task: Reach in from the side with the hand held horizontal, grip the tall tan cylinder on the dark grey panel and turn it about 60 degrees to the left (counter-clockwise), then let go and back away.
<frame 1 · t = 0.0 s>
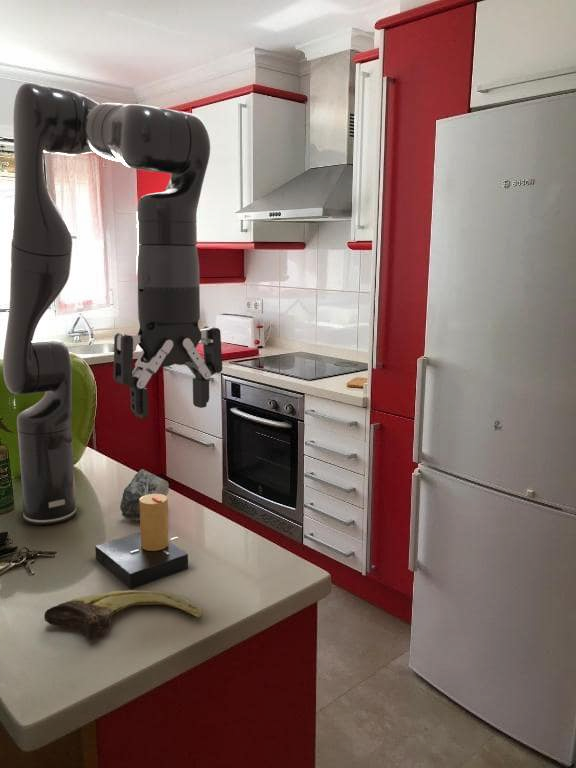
hand: (171, 411, 81), 29 cm above the counter, tool pointing down, fingers open, 8 cm apart
tan cylinder: (154, 521, 102), point 7 cm above the counter, hinge at 0.0°
stone: (148, 517, 120), on the counter
panel: (141, 564, 101), on the counter
claw: (126, 619, 87), on the counter
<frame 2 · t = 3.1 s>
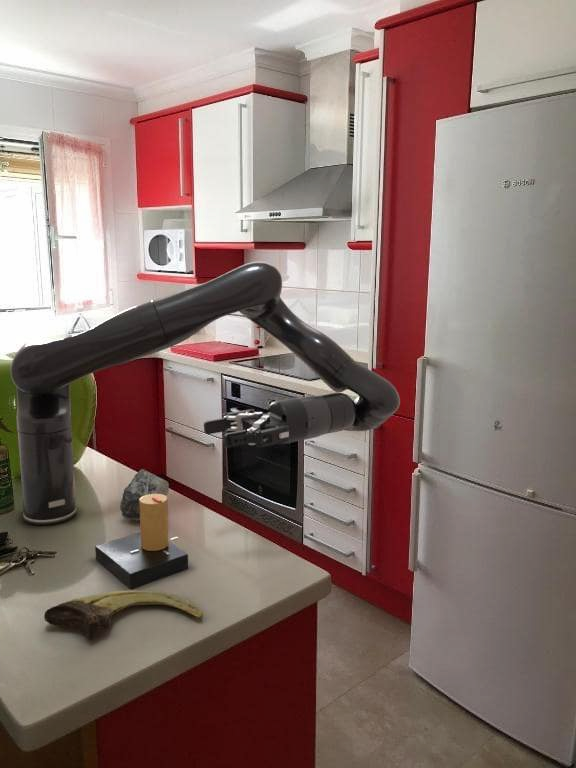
hand: (214, 434, 104), 20 cm above the counter, tool horizontal, fingers open, 8 cm apart
nothing on the counter moved.
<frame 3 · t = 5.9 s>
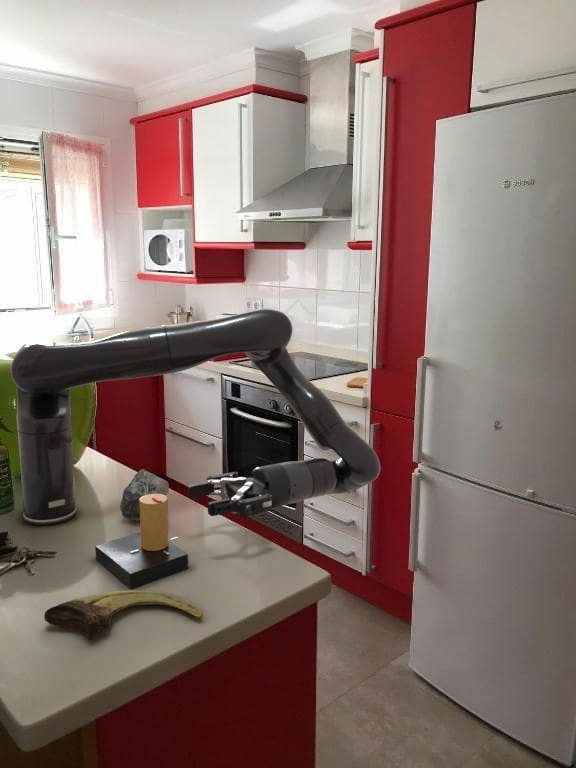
hand: (198, 500, 105), 9 cm above the counter, tool horizontal, fingers open, 8 cm apart
nothing on the counter moved.
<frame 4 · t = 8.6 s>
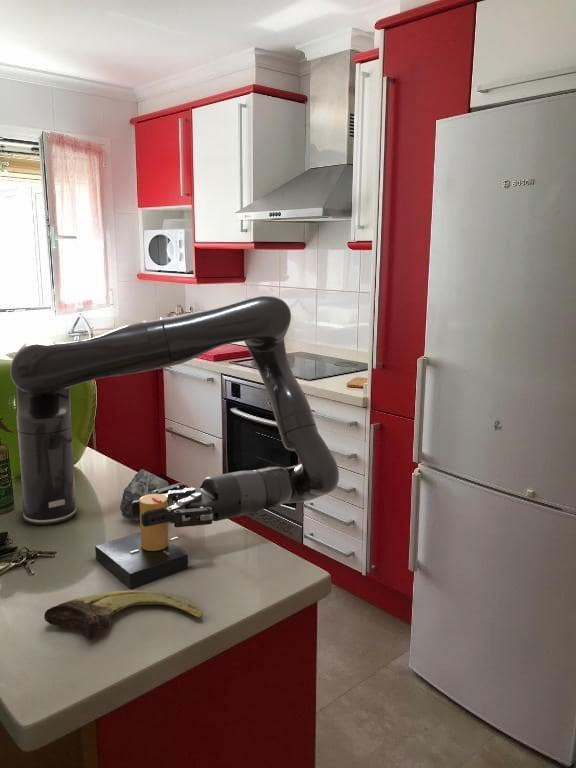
hand: (137, 514, 100), 8 cm above the counter, tool horizontal, fingers closed on tan cylinder, 4 cm apart
tan cylinder: (154, 521, 102), point 7 cm above the counter, hinge at -0.2°, touching gripper
everything else where it was.
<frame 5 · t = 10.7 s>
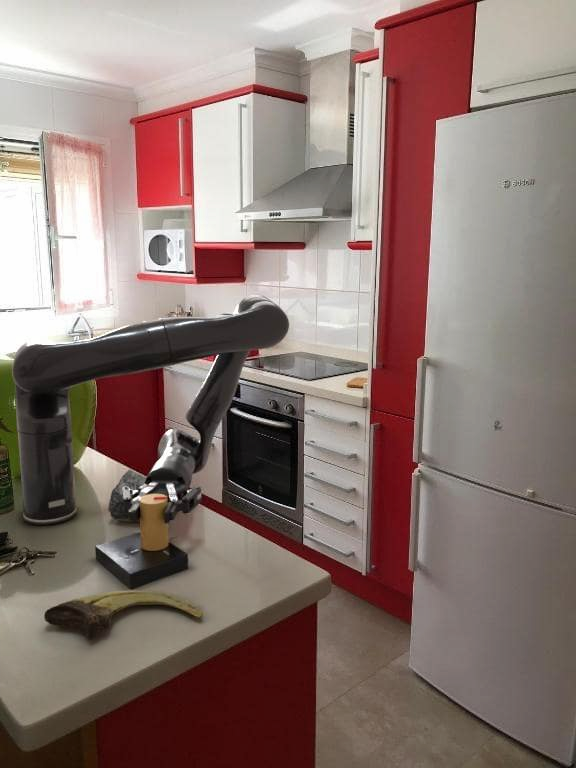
hand: (150, 517, 99), 9 cm above the counter, tool horizontal, fingers closed on tan cylinder, 4 cm apart
tan cylinder: (154, 521, 102), point 7 cm above the counter, hinge at 56.4°, touching gripper
stone: (136, 517, 119), on the counter, touching arm
everything else where it was.
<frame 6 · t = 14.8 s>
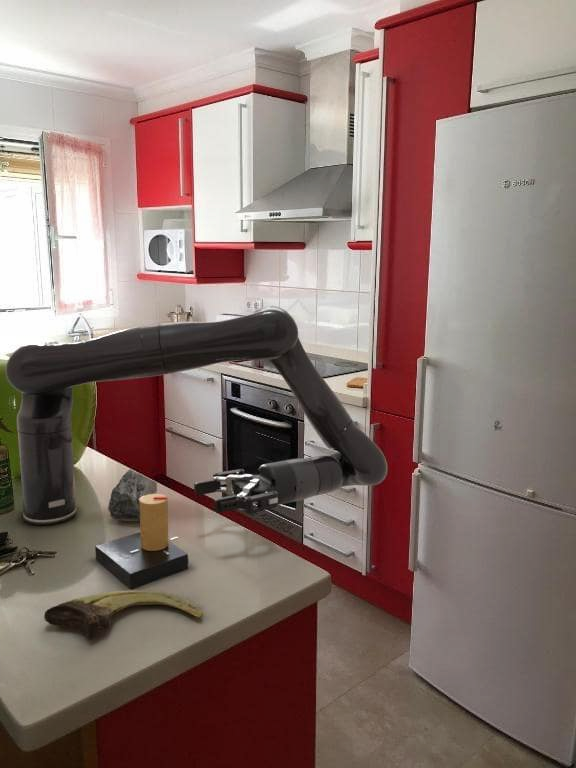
hand: (204, 497, 105), 9 cm above the counter, tool horizontal, fingers open, 8 cm apart
tan cylinder: (154, 521, 102), point 7 cm above the counter, hinge at 52.4°
stone: (136, 518, 119), on the counter
everything else where it was.
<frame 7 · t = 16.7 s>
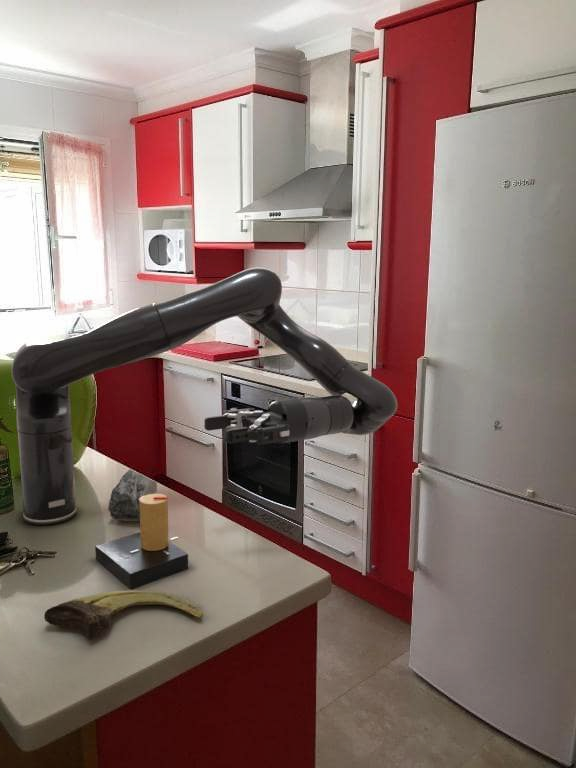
hand: (215, 430, 104), 20 cm above the counter, tool horizontal, fingers open, 8 cm apart
nothing on the counter moved.
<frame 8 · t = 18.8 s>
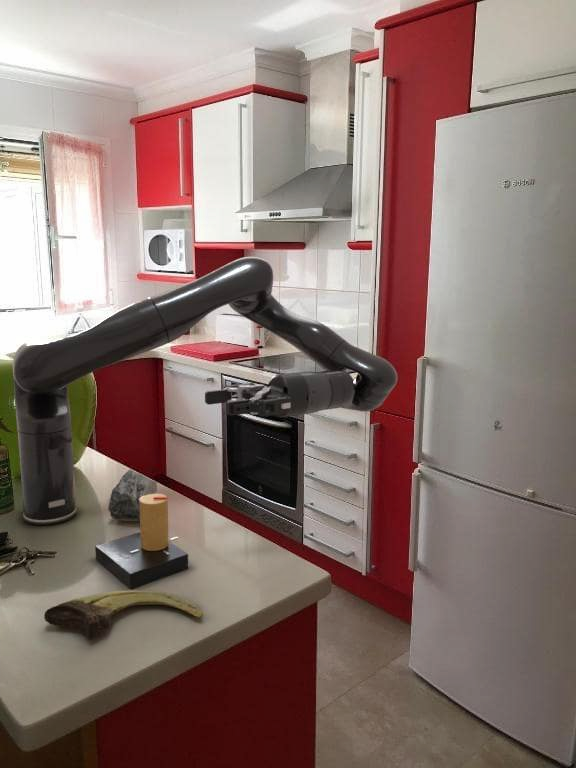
hand: (216, 403, 104), 25 cm above the counter, tool horizontal, fingers open, 8 cm apart
nothing on the counter moved.
at the end: tan cylinder at +52° (first picture: +0°) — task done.
